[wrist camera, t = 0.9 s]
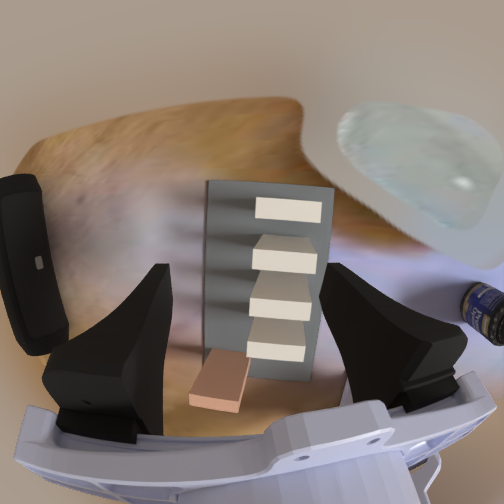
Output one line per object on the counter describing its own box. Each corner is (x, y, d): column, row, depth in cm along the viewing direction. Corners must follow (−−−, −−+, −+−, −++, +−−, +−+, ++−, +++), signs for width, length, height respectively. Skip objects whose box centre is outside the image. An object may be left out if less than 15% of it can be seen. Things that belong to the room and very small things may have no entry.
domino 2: (309, 216, 32) (320, 223, 22) (264, 212, 32) (255, 217, 22) (311, 201, 31) (321, 202, 22) (265, 198, 32) (256, 197, 22)
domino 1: (250, 363, 36) (237, 413, 26) (212, 358, 36) (189, 405, 26) (250, 353, 35) (238, 401, 26) (212, 348, 36) (188, 393, 26)
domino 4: (303, 286, 33) (309, 321, 23) (260, 282, 34) (248, 315, 24) (304, 272, 33) (311, 302, 23) (260, 269, 33) (250, 297, 24)
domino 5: (299, 318, 34) (303, 361, 24) (257, 314, 34) (246, 356, 25) (301, 305, 34) (305, 346, 24) (258, 302, 34) (247, 341, 24)
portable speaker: (85, 334, 39) (46, 362, 29) (48, 332, 41) (11, 355, 31) (52, 172, 35) (4, 171, 25) (18, 189, 37) (-25, 191, 27)
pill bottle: (453, 300, 31) (499, 333, 21) (482, 272, 30) (532, 295, 19) (467, 331, 32) (507, 366, 21) (494, 303, 31) (538, 331, 20)
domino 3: (307, 251, 32) (315, 274, 23) (262, 248, 33) (251, 269, 23) (308, 237, 32) (317, 254, 22) (263, 234, 33) (253, 248, 23)
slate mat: (309, 380, 36) (309, 381, 35) (205, 369, 37) (204, 370, 37) (333, 188, 31) (334, 188, 31) (209, 180, 33) (208, 180, 32)
